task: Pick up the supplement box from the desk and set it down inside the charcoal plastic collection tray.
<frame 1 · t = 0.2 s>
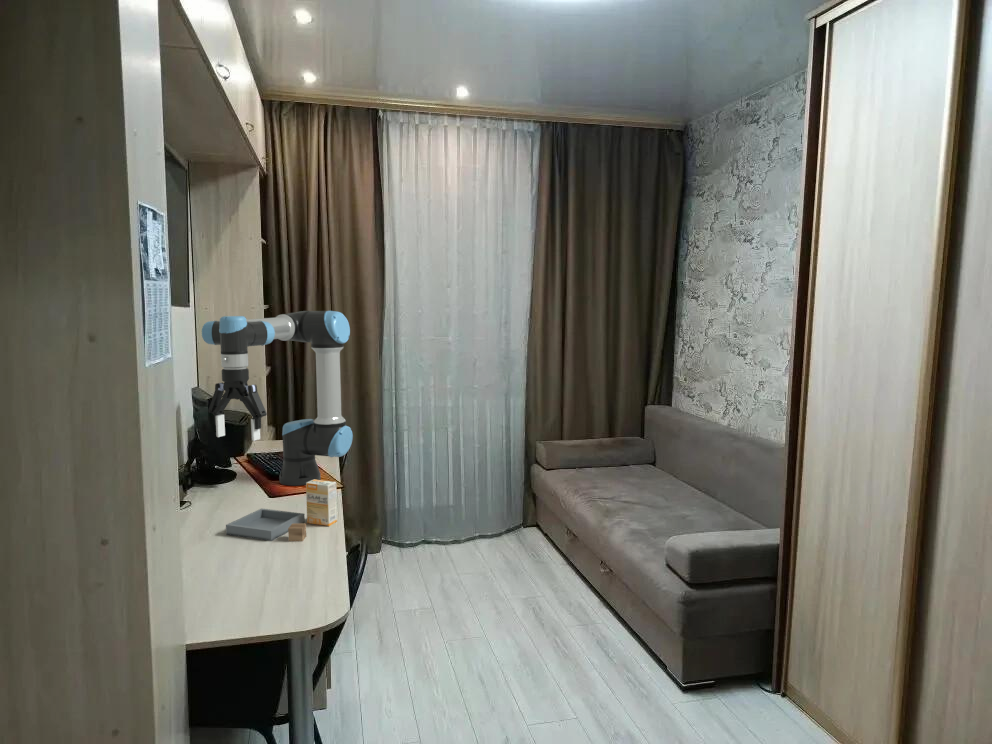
hand: (238, 438, 198), 28 cm above the table, fingers open, 13 cm apart
tray: (266, 528, 199), on the table
walnut block: (297, 539, 191), on the table
supplement box: (322, 523, 205), on the table
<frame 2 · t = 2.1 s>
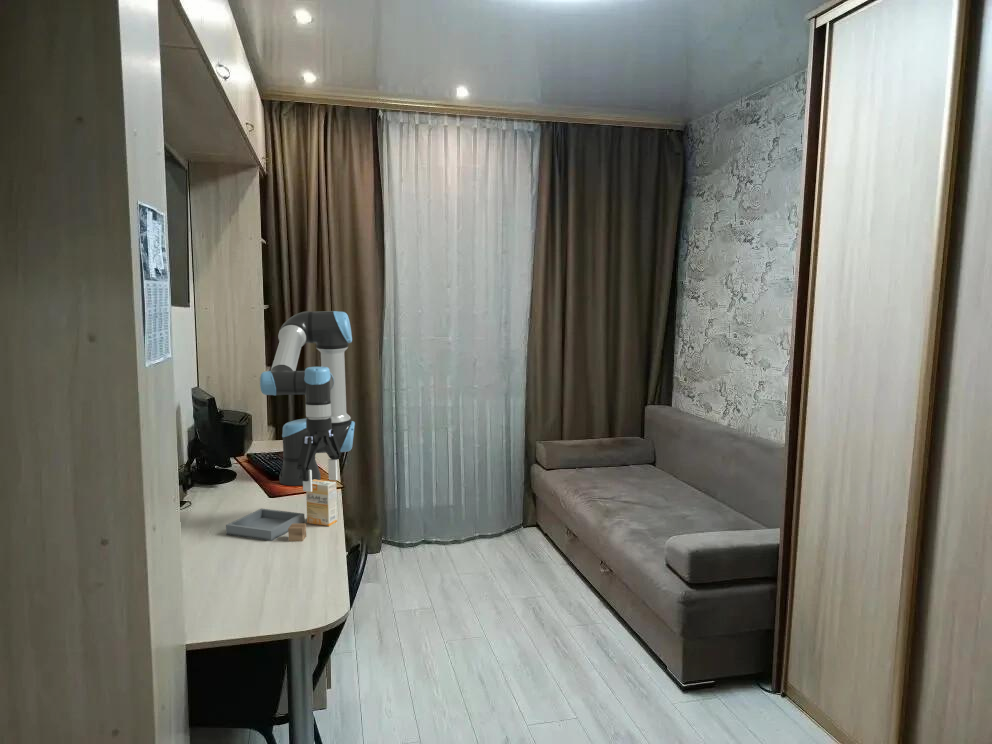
hand: (320, 485, 203), 12 cm above the table, fingers open, 13 cm apart
nothing on the table moved.
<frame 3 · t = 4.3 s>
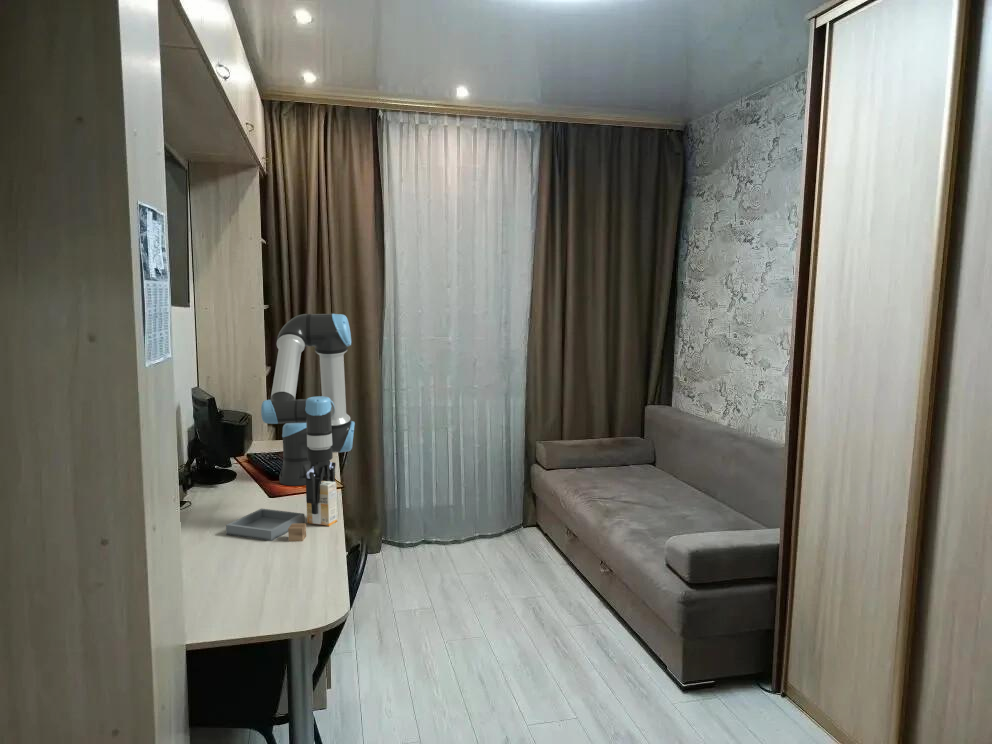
hand: (322, 520, 205), 1 cm above the table, fingers closed on supplement box, 5 cm apart
supplement box: (322, 523, 205), on the table, touching gripper
everything else where it was.
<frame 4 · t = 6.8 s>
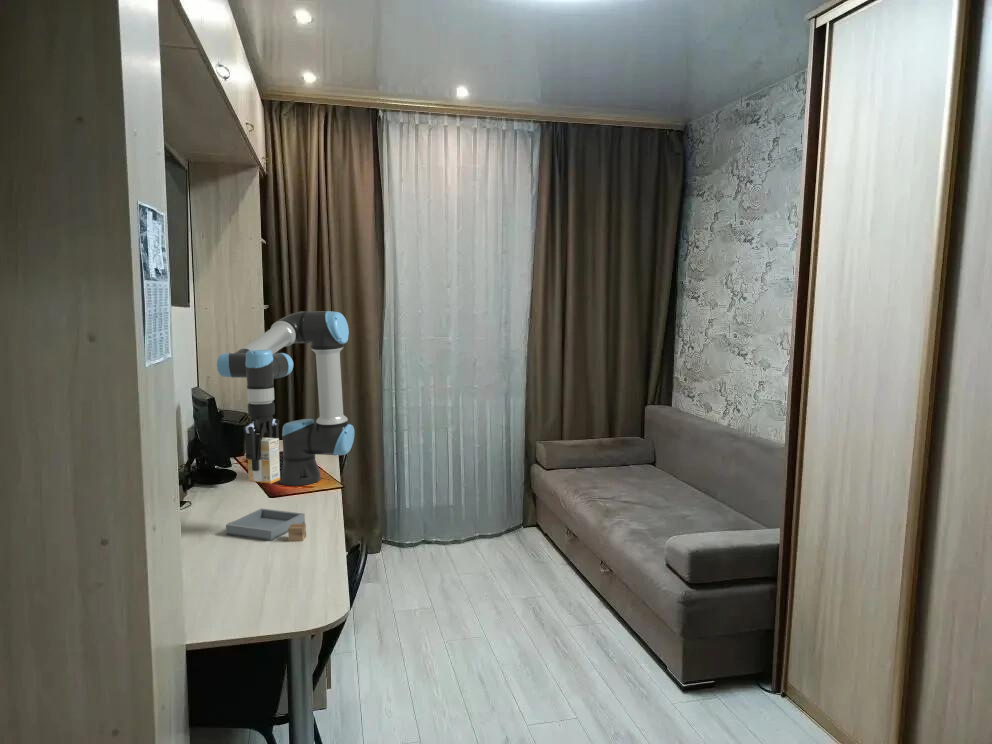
hand: (264, 478, 198), 16 cm above the table, fingers closed on supplement box, 5 cm apart
supplement box: (264, 481, 198), point 15 cm above the table, touching gripper
everything else where it was.
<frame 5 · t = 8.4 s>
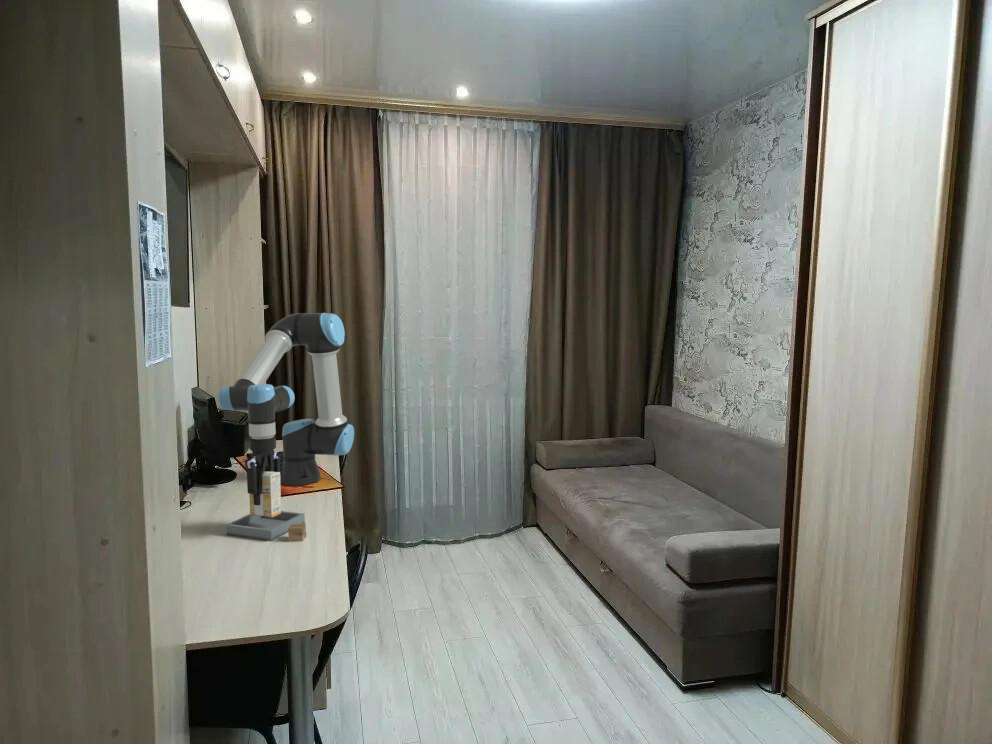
hand: (265, 511, 199), 5 cm above the table, fingers closed on supplement box, 5 cm apart
supplement box: (265, 515, 199), point 4 cm above the table, touching gripper
everything else where it was.
when the fingers open (3 cm above the table, at t = 9.6 s): supplement box drops 1 cm, resting on tray.
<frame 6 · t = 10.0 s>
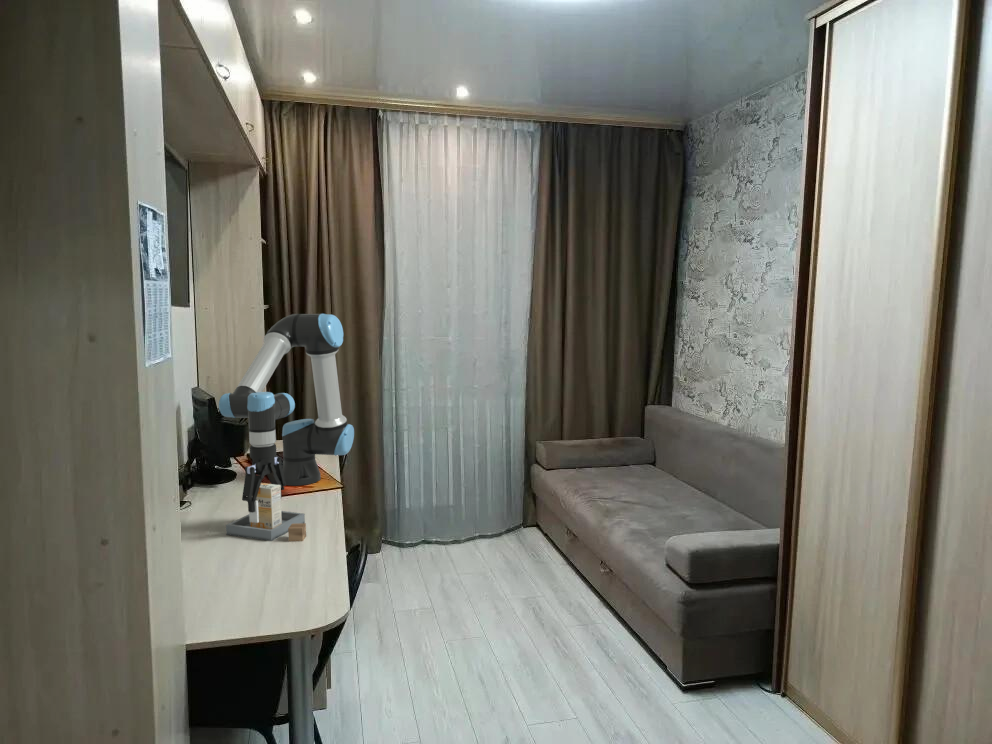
hand: (265, 516, 199), 4 cm above the table, fingers open, 10 cm apart
supplement box: (266, 527, 199), resting on tray
everything else where it was.
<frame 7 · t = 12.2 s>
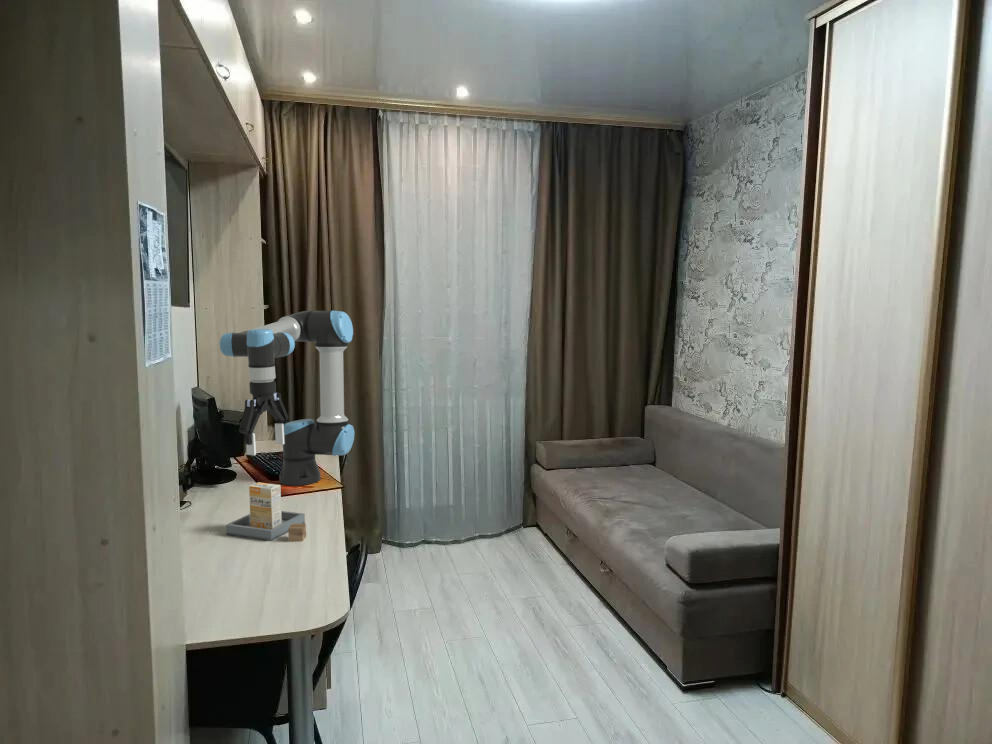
hand: (266, 449, 201), 24 cm above the table, fingers open, 13 cm apart
nothing on the table moved.
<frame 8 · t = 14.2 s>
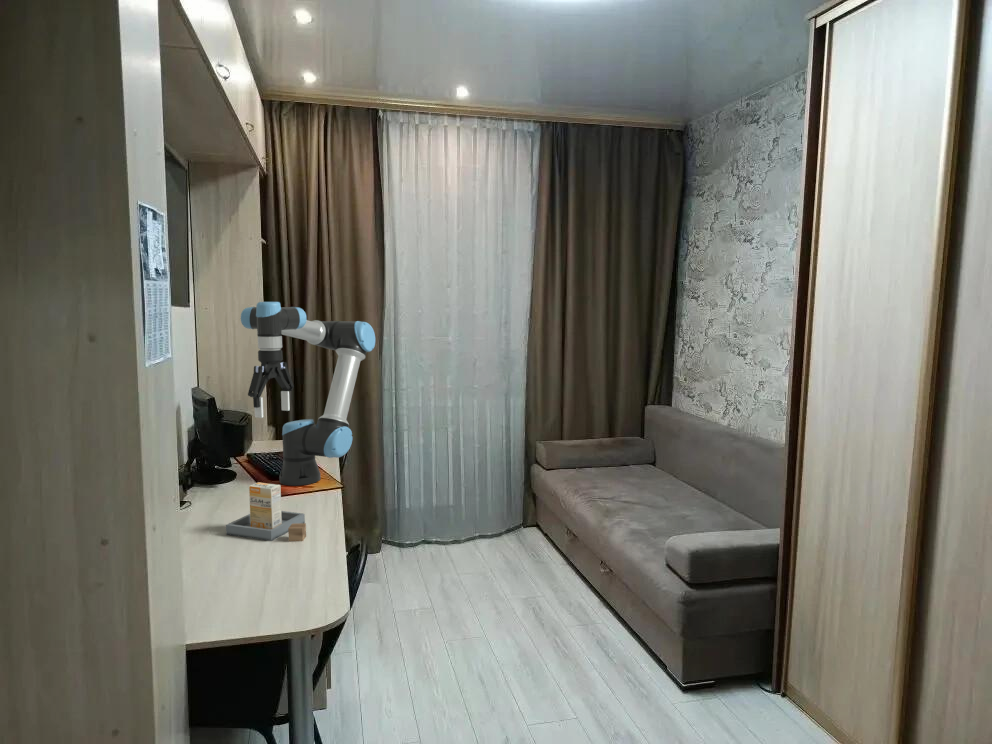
hand: (272, 413, 216), 32 cm above the table, fingers open, 13 cm apart
nothing on the table moved.
at the end: supplement box inside the target area on the tray (0.1 cm from its centre), point 0.4 cm above the tray's base; the gripper is holding nothing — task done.
